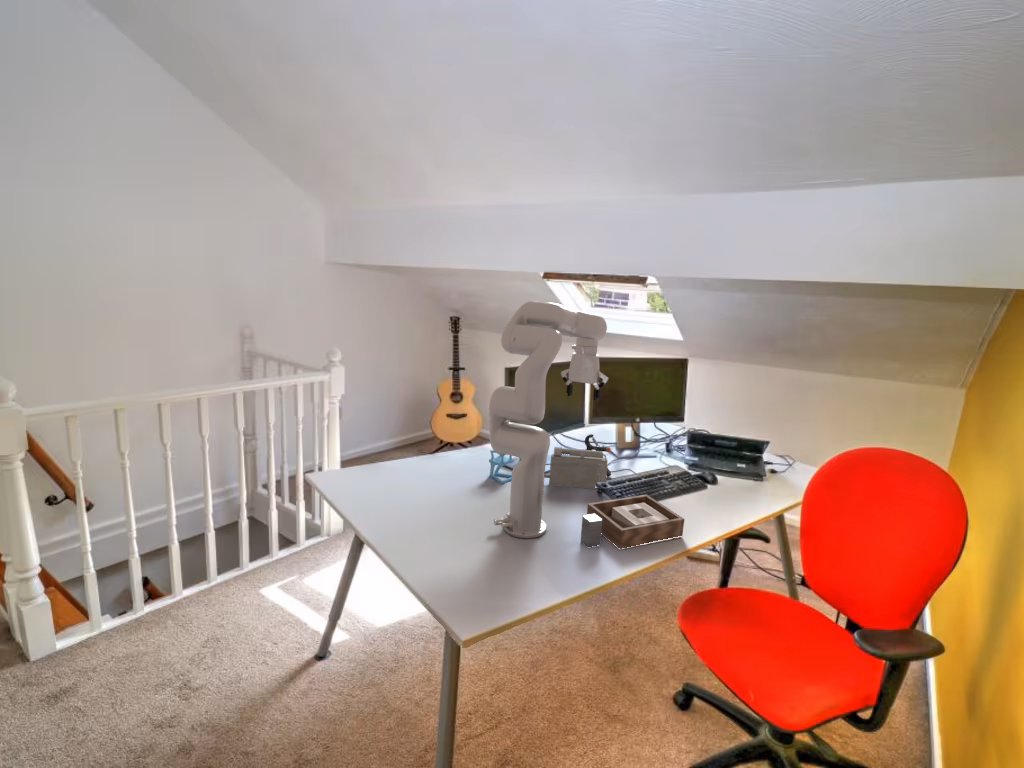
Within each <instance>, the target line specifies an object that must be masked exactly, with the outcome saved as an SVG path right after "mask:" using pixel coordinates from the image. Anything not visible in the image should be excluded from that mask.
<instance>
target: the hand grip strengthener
mask: <svg viewBox="0 0 1024 768" xmlns="http://www.w3.org/2000/svg"><path fill="white" fill-rule="evenodd" d="M590 439H591V440H592V442H593V443H594V445H592V444H591V443H590ZM584 445H585V447H586V449H585V450H592V451H602V452H606V453H610V452H611V447H609V446H608V447H602V446H600V444H599V443H598V441H597V440H596V438H595V437H594V434H592V433H591V434H588V435H587V436H586V437H585V439H584ZM602 458H604V456H603V455H602ZM611 476H612V472H611V470H610V469H609V467H608V466H607V473H606V478H609V477H611Z"/></svg>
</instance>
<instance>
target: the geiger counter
mask: <svg viewBox="0 0 1024 768" xmlns="http://www.w3.org/2000/svg"><path fill="white" fill-rule="evenodd" d="M602 455H603V458H602ZM545 466H549V474H547V473H545V474H544V479H548V481H549V482H548V483H549V486H554V485H555V486H557V487H566V486H567V487H566V488H577V489H578V488H580V489H589V488H595V485H596V483H597V482H607V476H606V473H607V467H608V458H607V455H606V454H605V453H603V451H596V450H593V449H592V450H586V449H579V448H578V449H577V448H564V447H563V446H554V449H553V453H552V454H551V455H550V463H546V465H545Z"/></svg>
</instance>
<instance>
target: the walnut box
mask: <svg viewBox="0 0 1024 768" xmlns="http://www.w3.org/2000/svg"><path fill="white" fill-rule="evenodd" d="M586 508H587V510H586V515H590V514H596V515H597V516H598V517H599V518H601V519H602V529H601V533H602V534H603V535H604V536H605V537H606V538H607V539H609V540H610V541H611V542H612V543H614V544H615V545H616V546H617V547H618V548H620V549H622V548H627V547H631V546H636V545H640V544H644V543H649V542H653V541H658V540H663V539H668V538H673V537H678V536H682V537H683V534H684V525H685V518H683V517H682V516H680V515H679V514H678V513H676V512H674V511H673V510H671V509H669V508H668V507H667V506H665V505H663V504H662V503H660V502H659V501H657V500H656V499H654V498H653V497H652V496H649V495H648V494H642V495H636V496H635V495H634V496H627V497H622V498H615V499H610V500H604V501H603V500H602V501H596V502H590V503H587V507H586ZM603 535H602V536H603ZM604 536H603V537H604ZM605 537H604V538H605ZM606 538H605V539H606ZM609 540H608V541H609ZM610 541H609V542H610ZM611 542H610V543H611ZM612 543H611V544H612ZM616 546H615V547H616ZM617 547H616V548H617ZM618 548H617V549H618Z"/></svg>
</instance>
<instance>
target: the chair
mask: <svg viewBox="0 0 1024 768" xmlns="http://www.w3.org/2000/svg"><path fill="white" fill-rule="evenodd" d="M490 454H491V456H490V457H491V458H490V459H488V463H490V470H489V471H490V472H489V477H490V478H492V479H494V480H495V481H497V482H498V483H499V484H502V485H504V484H506V483H509V482H511V477H512V473H511V474H509V473H505V472H500V469H501V468H502V467H504V466H507V465H509V464H512V463H515V460H514V459H513V458H512V457H513V456H511V455H508V457H506V456H507V455H506V454H502V453H498V452H496V451H494V450H493V449H492V450H491V449H490ZM494 454H497V455H498V456H495V457H494ZM496 466H497V467H496ZM495 467H496V469H495ZM498 476H500V477H506V479H503V480H502V479H501V478H500V477H498Z"/></svg>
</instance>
